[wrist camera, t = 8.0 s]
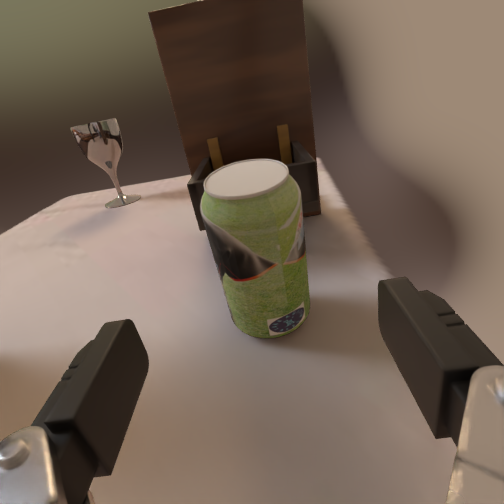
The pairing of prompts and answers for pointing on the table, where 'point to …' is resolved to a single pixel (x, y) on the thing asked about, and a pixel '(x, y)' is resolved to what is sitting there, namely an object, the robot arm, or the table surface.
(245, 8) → the wooden backboard stand
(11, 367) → the table surface
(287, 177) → the beverage can
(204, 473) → the table surface
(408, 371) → the robot arm
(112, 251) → the table surface
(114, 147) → the wine glass
